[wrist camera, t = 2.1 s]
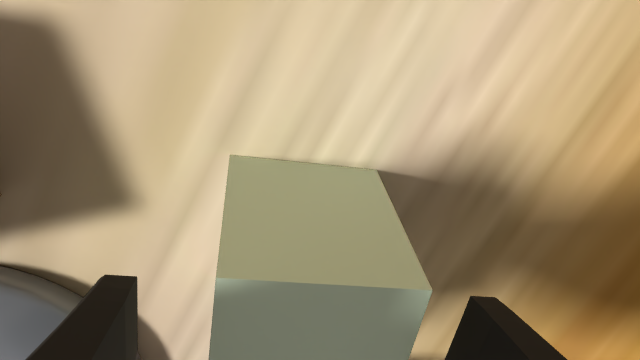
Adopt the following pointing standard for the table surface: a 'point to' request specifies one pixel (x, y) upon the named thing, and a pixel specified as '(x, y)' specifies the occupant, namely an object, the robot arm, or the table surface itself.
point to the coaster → (30, 312)
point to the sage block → (313, 266)
